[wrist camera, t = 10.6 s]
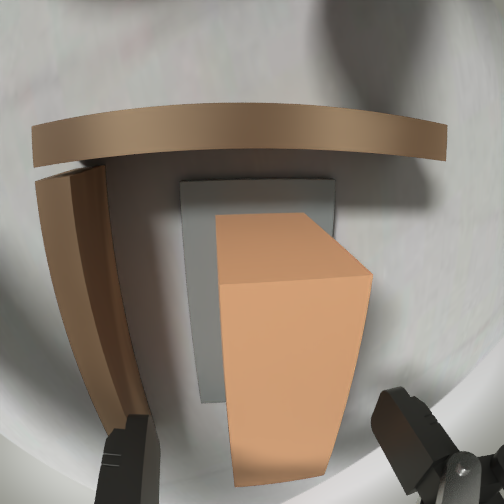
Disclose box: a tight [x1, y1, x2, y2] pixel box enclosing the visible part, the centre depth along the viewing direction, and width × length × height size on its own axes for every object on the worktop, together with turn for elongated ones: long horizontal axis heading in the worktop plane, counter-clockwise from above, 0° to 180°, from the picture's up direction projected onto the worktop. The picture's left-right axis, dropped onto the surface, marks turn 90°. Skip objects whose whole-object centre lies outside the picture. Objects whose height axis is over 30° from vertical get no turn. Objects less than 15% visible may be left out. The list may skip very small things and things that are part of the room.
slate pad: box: [180, 178, 336, 403], centre depth 16 cm, size 7×13×1 cm, turn 0°
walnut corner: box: [32, 103, 447, 436], centre depth 15 cm, size 16×19×4 cm
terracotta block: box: [215, 213, 373, 487], centre depth 13 cm, size 10×4×7 cm, turn 0°
